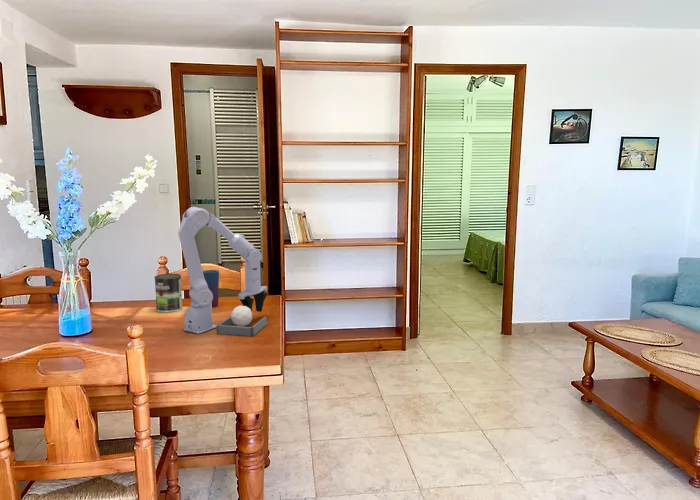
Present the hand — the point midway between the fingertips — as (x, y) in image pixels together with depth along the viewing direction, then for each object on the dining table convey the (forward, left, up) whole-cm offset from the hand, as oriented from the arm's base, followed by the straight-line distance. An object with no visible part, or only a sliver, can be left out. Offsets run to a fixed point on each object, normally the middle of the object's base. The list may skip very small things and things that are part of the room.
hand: (254, 313), depth 193 cm
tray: (-11, -4, -3) cm, 11 cm away
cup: (+6, +29, -3) cm, 30 cm away
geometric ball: (-8, -1, -3) cm, 8 cm away
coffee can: (-7, +40, -3) cm, 41 cm away
